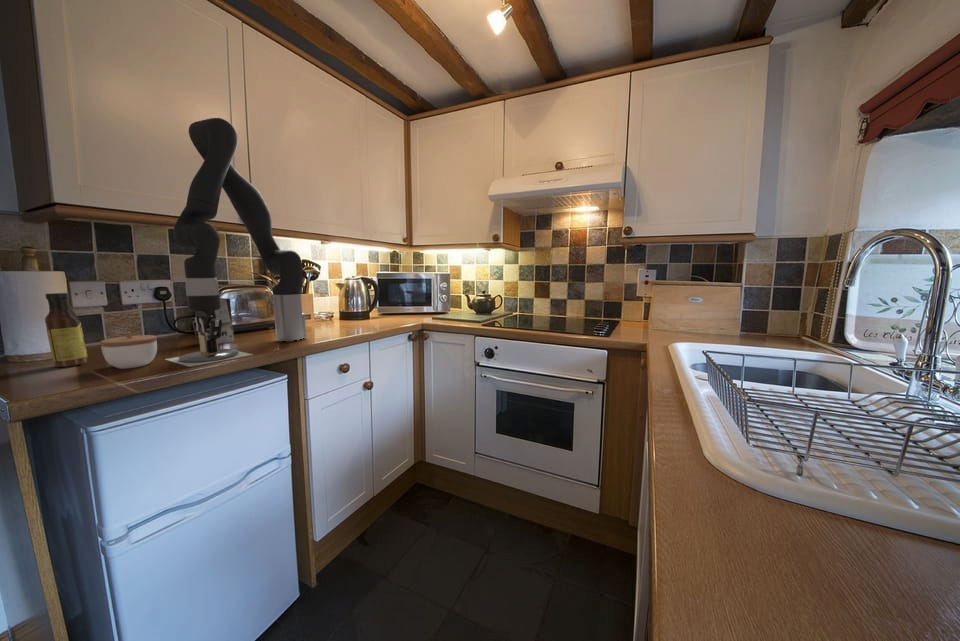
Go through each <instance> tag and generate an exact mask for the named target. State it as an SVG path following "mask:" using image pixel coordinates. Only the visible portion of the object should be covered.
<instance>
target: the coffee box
mask: <svg viewBox="0 0 960 641" xmlns="http://www.w3.org/2000/svg"><path fill="white" fill-rule="evenodd" d="M220 305H221V308H220V309H219V310H215V314H216V317H217V320H220V319H221V320H222V326H221V335H220V338H218V339H217V343H218V345H219V344H226V343H231V342H235V336H234V328H233V327H234V326H233V317H232V306H231V305H232V304H231V299H230V298H226V297H224V298H223V297H220Z"/></svg>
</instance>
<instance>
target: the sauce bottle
mask: <svg viewBox="0 0 960 641" xmlns="http://www.w3.org/2000/svg"><path fill="white" fill-rule="evenodd" d="M70 298H71V297H70V293H69V292H52V293H45V299H46V300H47V304H48V309H49V311H48V314H47V315H46V316H45V318H44V322H45V327H46V330H45V331H46V335H47V339H48V344H49V348H50V349H49V350H50V354H51V358H52V362H53V366H54V367H57V368H69V367H75V366H80V365H83V364H84V365H85V364H87V363H88V351H87V347H86V342H85V341H86V340H85V337H84V332H83V327H82V323H81V322H82V321H81V320H80V318H79V317H78V316H77V314H76V313H75V312H74V310H73V308H72V307H71V302H70Z"/></svg>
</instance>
